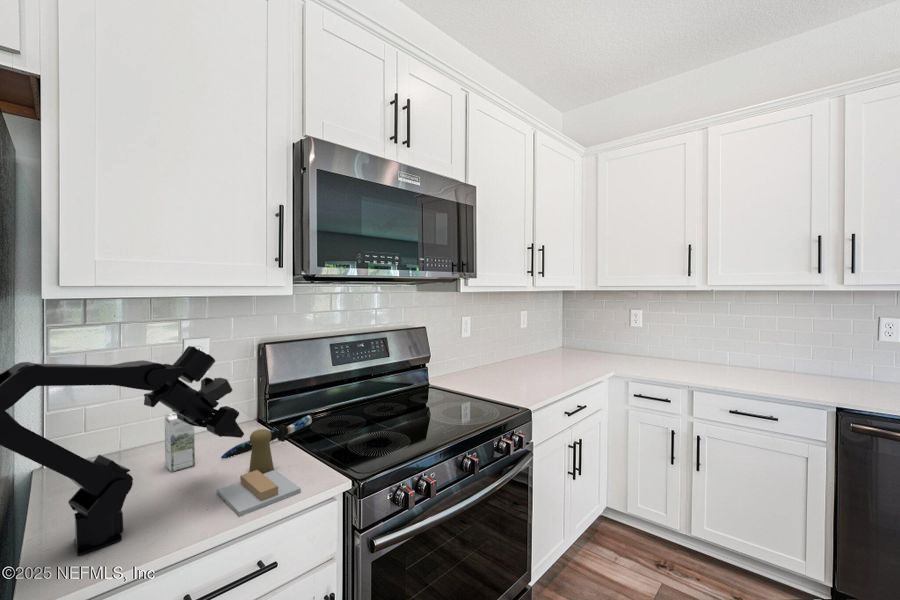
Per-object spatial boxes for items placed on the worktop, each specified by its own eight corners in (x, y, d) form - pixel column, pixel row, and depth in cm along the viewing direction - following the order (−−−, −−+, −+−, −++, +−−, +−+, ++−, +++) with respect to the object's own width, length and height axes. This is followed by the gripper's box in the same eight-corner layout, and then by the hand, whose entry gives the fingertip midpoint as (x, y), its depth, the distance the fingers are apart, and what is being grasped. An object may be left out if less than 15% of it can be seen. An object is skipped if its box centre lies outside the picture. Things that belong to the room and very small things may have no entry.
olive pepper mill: (264, 477, 106) (263, 435, 105) (243, 475, 107) (242, 434, 106) (278, 467, 111) (277, 427, 111) (258, 465, 113) (257, 426, 112)
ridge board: (239, 516, 88) (238, 503, 88) (217, 493, 98) (216, 481, 97) (300, 492, 98) (300, 480, 98) (275, 473, 108) (275, 462, 108)
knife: (313, 424, 141) (311, 412, 140) (318, 426, 139) (316, 414, 138) (218, 464, 118) (216, 449, 117) (222, 467, 116) (220, 452, 115)
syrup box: (189, 459, 116) (188, 409, 115) (195, 466, 112) (194, 414, 111) (165, 466, 112) (163, 414, 111) (171, 473, 108) (169, 419, 107)
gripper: (229, 374, 92) (275, 409, 102) (189, 365, 102) (234, 398, 112) (193, 419, 86) (245, 452, 95) (153, 404, 96) (204, 435, 106)
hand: (232, 431), depth 102 cm, fingers open, 9 cm apart
